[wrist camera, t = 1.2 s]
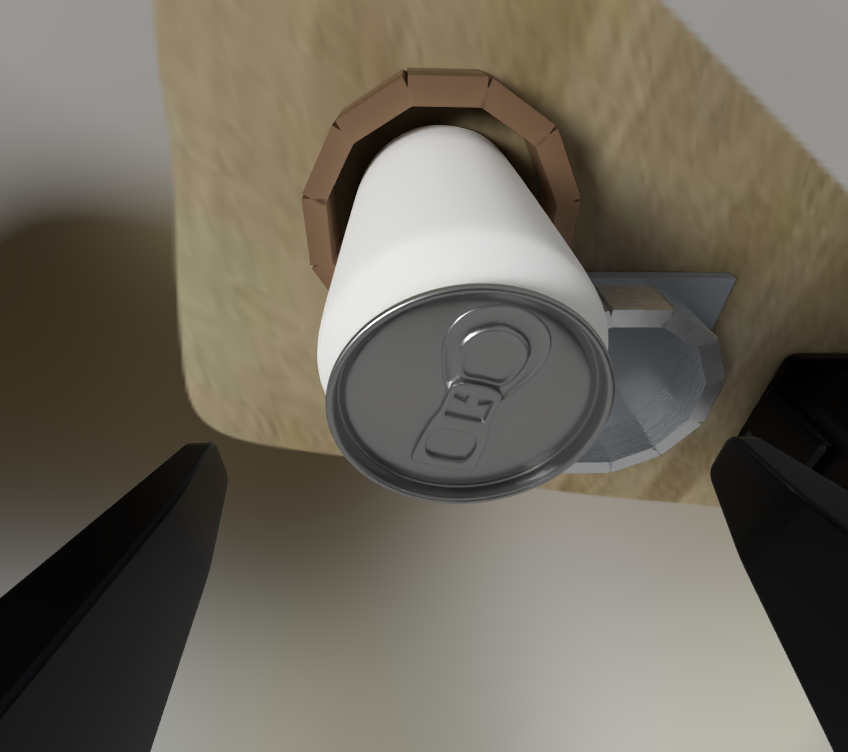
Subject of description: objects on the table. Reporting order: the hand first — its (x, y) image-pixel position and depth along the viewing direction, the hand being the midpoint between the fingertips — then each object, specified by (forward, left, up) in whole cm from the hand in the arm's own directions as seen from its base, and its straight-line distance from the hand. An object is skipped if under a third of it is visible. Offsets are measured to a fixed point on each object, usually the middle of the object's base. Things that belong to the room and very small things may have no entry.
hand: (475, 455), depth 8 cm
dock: (-8, +8, -13) cm, 17 cm away
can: (0, 0, -13) cm, 13 cm away
